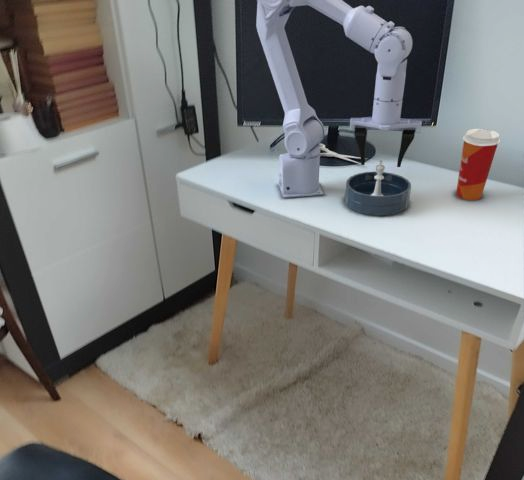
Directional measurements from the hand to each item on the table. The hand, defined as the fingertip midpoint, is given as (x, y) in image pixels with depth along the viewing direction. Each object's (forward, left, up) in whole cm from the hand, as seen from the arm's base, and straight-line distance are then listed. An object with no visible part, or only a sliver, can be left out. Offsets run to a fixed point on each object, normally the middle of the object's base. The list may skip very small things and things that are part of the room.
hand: (380, 164), depth 119 cm
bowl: (0, 0, -9) cm, 9 cm away
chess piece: (0, 0, -9) cm, 9 cm away
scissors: (-3, +30, -9) cm, 31 cm away
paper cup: (+22, 0, -9) cm, 24 cm away
